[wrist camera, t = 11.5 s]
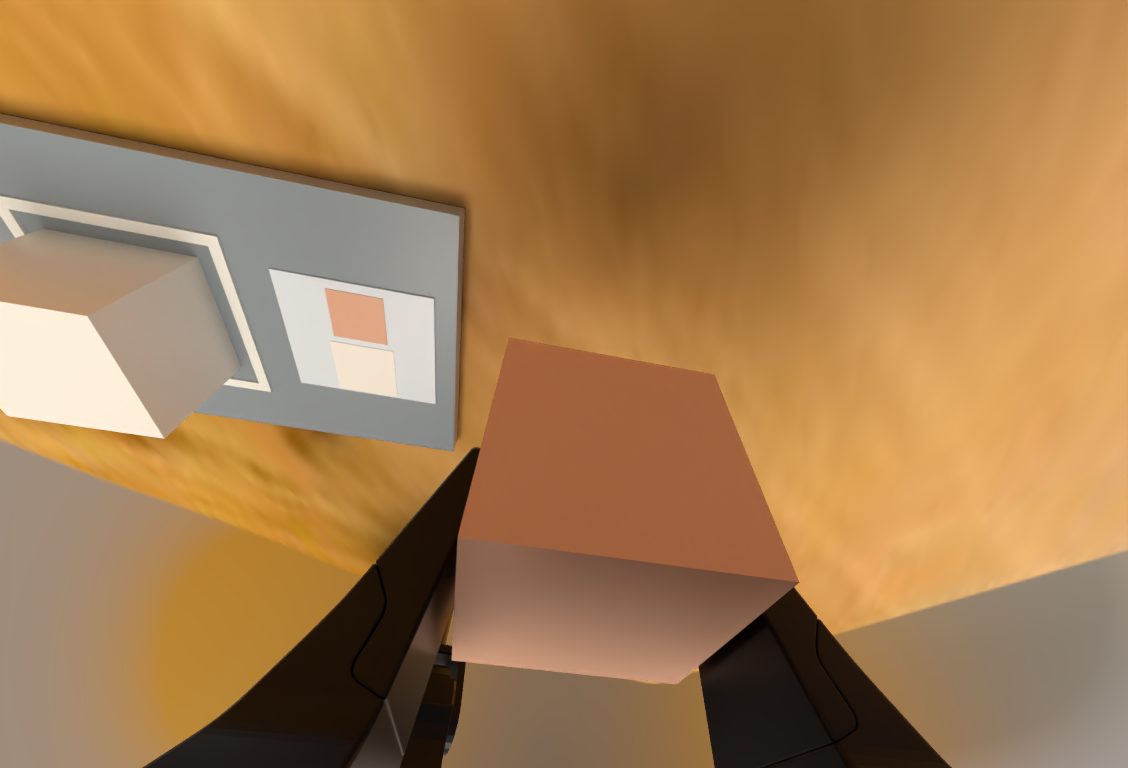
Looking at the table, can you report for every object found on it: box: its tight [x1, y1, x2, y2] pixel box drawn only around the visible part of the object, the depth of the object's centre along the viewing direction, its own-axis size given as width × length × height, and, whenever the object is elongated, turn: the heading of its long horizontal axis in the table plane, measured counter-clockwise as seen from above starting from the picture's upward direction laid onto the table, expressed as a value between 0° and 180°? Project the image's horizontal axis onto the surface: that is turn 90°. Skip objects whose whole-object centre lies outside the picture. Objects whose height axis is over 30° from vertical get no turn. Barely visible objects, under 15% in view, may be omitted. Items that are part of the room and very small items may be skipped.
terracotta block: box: [452, 338, 799, 684], centre depth 9 cm, size 5×5×5 cm
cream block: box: [0, 229, 241, 439], centre depth 17 cm, size 6×6×5 cm
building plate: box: [0, 113, 465, 451], centre depth 20 cm, size 14×20×1 cm
